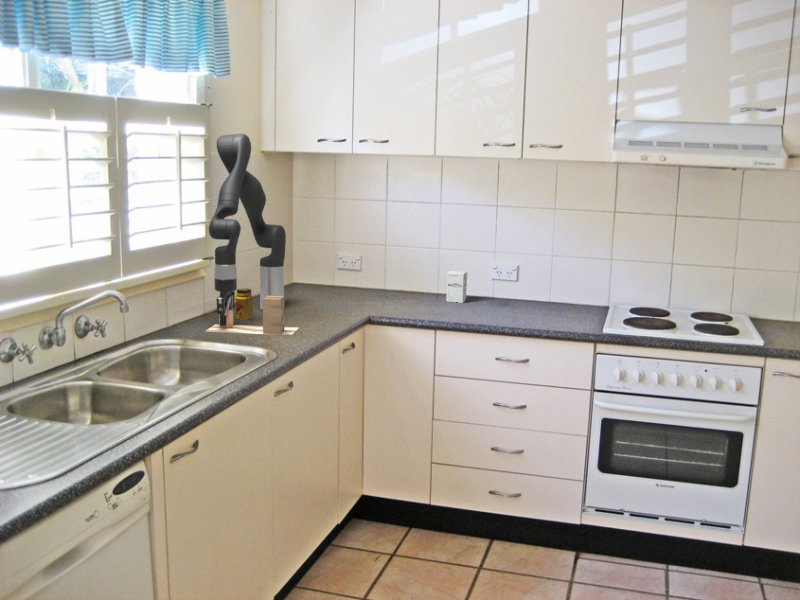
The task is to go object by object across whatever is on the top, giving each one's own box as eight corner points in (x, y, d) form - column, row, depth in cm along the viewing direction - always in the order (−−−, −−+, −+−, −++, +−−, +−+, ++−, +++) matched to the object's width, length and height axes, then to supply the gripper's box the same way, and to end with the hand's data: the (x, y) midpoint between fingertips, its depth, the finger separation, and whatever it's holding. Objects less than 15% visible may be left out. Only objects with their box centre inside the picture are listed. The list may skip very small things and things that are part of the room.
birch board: (215, 326, 299) (215, 324, 299) (298, 330, 296) (298, 327, 296) (204, 334, 287) (204, 331, 287) (291, 338, 285) (291, 335, 285)
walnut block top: (267, 312, 291) (267, 295, 289) (284, 313, 290) (284, 296, 289) (262, 316, 285) (262, 298, 284) (280, 316, 284) (280, 299, 283)
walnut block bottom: (267, 329, 292) (267, 312, 291) (284, 330, 291) (284, 313, 290) (263, 333, 286) (262, 316, 285) (280, 334, 285) (280, 316, 284)
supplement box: (445, 302, 356) (446, 272, 354) (449, 299, 363) (450, 270, 361) (462, 303, 354) (463, 273, 352) (466, 300, 361) (467, 271, 359)
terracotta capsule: (221, 324, 297) (221, 308, 296) (234, 325, 297) (234, 308, 296) (217, 327, 293) (217, 311, 291) (231, 328, 292) (231, 311, 291)
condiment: (231, 322, 307) (230, 289, 305) (244, 318, 315) (244, 286, 313) (247, 324, 304) (247, 291, 302) (260, 320, 312) (260, 288, 310)
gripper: (221, 273, 299) (221, 319, 302) (208, 279, 285) (209, 327, 288) (241, 274, 298) (242, 319, 301) (230, 280, 284) (230, 328, 287)
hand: (226, 323), depth 295 cm, fingers open, 7 cm apart
